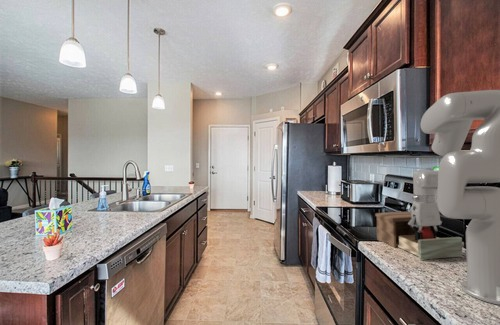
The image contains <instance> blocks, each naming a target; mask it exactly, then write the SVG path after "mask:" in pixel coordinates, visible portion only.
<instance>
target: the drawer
mask: <svg viewBox="0 0 500 325" xmlns="http://www.w3.org/2000/svg"><path fill="white" fill-rule="evenodd" d="M397 247H398V249H399V248H400V249H401V250H404V251H407V252H408V253H411V254H413V255H415V256H417V257H418V260H421V261H422V260H432V259H446V258H454V257H455V258H456V257H463V237H460V236H452V237H437V236H436V238H435V239H421V240H418V241H417V240H415V235H405V236H399V239H398V244H397Z"/></svg>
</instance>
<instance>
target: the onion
mask: <svg viewBox="0 0 500 325" xmlns="http://www.w3.org/2000/svg"><path fill="white" fill-rule="evenodd" d="M421 233H422V239H433V238H434V234H433V232H432V231H431V230H430V228H428V227H427V226H424V227H422V229H421Z"/></svg>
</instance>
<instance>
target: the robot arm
mask: <svg viewBox="0 0 500 325" xmlns="http://www.w3.org/2000/svg"><path fill="white" fill-rule="evenodd" d="M475 120H476V121H478V120H479V121H480V120H483V122H481V123H480V124H479V125H478V127H477V128H475V130H474V132H473V134H472V137H471V147H470V150H462V149H463V146H464V143H465V141H466V138H467V136H468V134H469V132H470V129H471V126H472V124H473V121H475ZM420 129H421V131H422V132H423V133H424V134H429V135H431V134H434V138H433V142H432V144H431V150H432V151H433V152H434V154H436V155H439V156H440V157H442V158H441V160H440V163H439V165H438V170H415V171H414V172H413V174H412V183H413V184H412V185H413V196H412V200H413V201H412V206H411V212H412V213H411V220H410V221H409V223H408V225H409V226H410V227H411V228H412V229H413V231H415V240H417V241H418V240H421V239H422V233H421V229H422V227H424V226H429V229H430V230H431V231H432V232H433V234H434V238H433V239H435V238H436V237H437V232H438V231H439V230H438V229H439V228H440V226H441V225H442V223H443V221H442V220H441V215H442V216H443V217H446V218H449V219H455V220H470V222H469V223H468V225H467V226H466V229H465V250H466V251H465V254H466V256H465V258H466V277H467V278H466V279H465V280H463V281H462V282H460V288H461V290H462V291H463V292H464V293H465V294H467V295H469V296H471V297H473V298H474V299H478V300H480V301H483V302H487V303H490V304H492V305H499V306H500V187H497V186H485V185H484V186H483V185H482V186H477V185H476V186H467V184H494V183H500V89H484V90H474V91H462V92H461V91H460V92H459V91H458V92H451V93H447V94H445V95H443V96H441V97H440V98H438V99H437V101H435V102H434V103H432V105H431V106H430V107H429V108H428V109H427V110H426V111H425V112H424V113H423V115H422V117H421V118H420ZM436 190H437V192H436ZM414 224H415V225H414ZM418 226H419V227H418ZM417 227H418V228H417Z"/></svg>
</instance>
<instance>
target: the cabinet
mask: <svg viewBox="0 0 500 325" xmlns="http://www.w3.org/2000/svg"><path fill="white" fill-rule="evenodd" d="M409 211H410V210H409ZM409 211H405V210H404V211H393V212H391V211H390V212H375V214H374V215H375V217H376V241H379V242H381V241H382V242H381V243H383V242H384V243H383V244H385V243H386V244H385V245H387V244H388V246H389V245H390V246H389V247H392V248H395V247H396V248H397V240H399V236H405V235H415V231H413V229H412V228H411V227H410V226H409V225H408V223H409V221H410V220H411V213H412V211H410V212H409ZM414 225H415V224H414ZM418 227H419V226H418ZM418 227H417V228H418ZM427 227H428V228H429V226H427ZM429 229H430V228H429ZM396 248H395V249H396Z"/></svg>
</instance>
